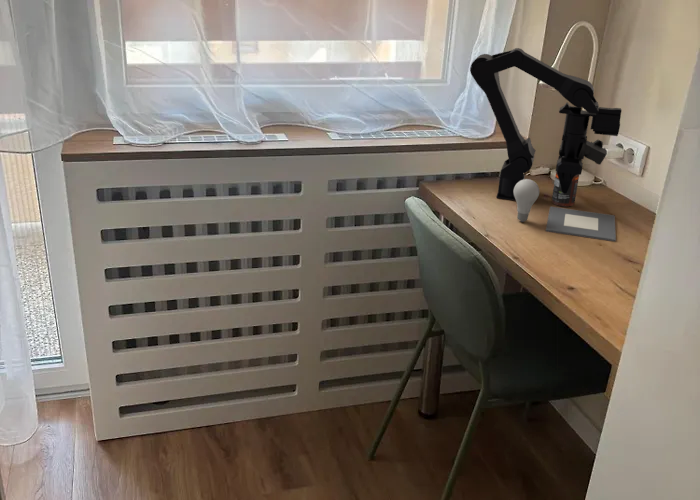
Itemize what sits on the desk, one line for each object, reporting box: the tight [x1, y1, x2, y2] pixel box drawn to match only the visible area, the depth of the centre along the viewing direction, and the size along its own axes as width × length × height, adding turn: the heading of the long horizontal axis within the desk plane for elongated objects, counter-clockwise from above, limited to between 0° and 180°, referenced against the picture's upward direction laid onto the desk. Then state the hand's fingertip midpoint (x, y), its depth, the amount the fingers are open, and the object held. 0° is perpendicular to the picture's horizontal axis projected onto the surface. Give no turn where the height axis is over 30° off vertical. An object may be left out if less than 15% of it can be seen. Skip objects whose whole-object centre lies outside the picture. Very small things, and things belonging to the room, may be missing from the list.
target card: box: [545, 206, 617, 243], centre depth 171 cm, size 16×16×1 cm
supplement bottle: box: [551, 171, 580, 208], centre depth 181 cm, size 6×6×11 cm
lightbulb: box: [514, 178, 540, 223], centre depth 169 cm, size 6×6×11 cm
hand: (565, 189), depth 182 cm, fingers closed on supplement bottle, 6 cm apart
